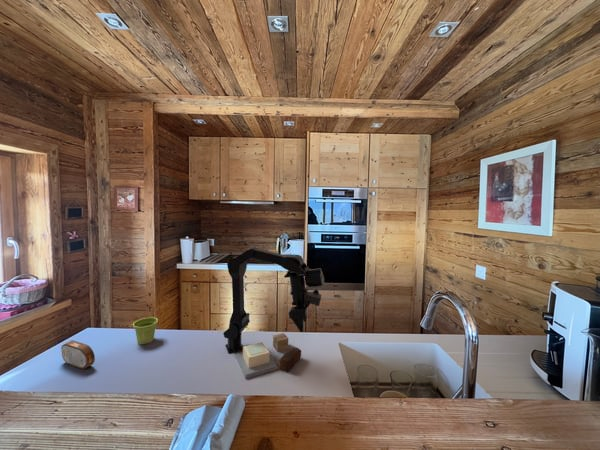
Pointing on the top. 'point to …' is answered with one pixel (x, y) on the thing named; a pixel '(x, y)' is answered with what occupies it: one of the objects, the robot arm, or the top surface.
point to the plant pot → (145, 329)
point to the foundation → (255, 360)
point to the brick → (289, 359)
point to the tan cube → (280, 342)
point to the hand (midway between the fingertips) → (303, 326)
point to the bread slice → (78, 354)
